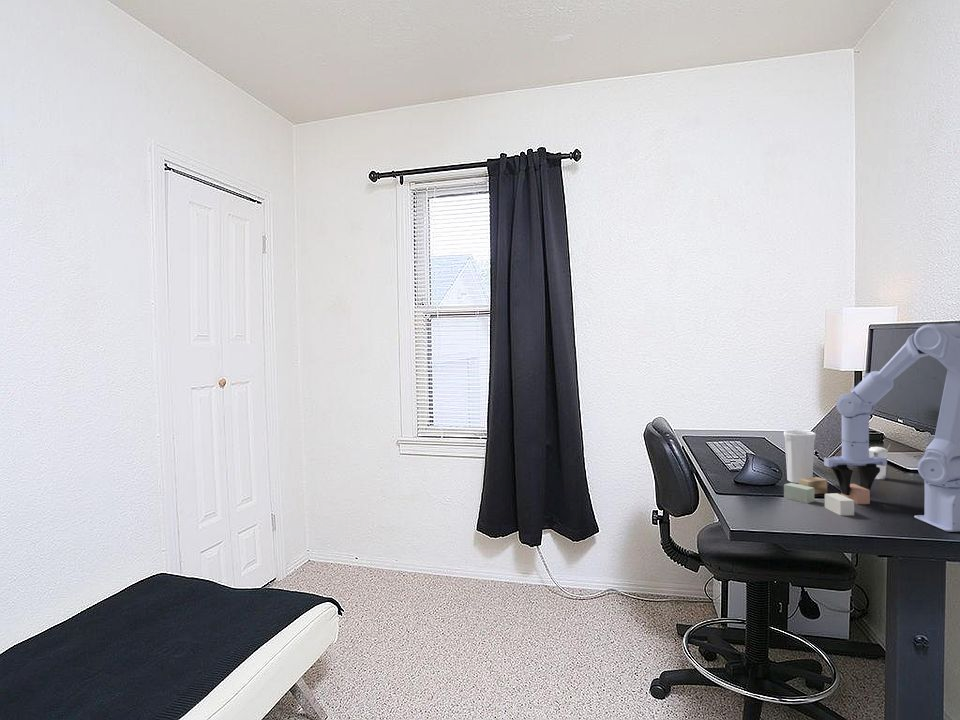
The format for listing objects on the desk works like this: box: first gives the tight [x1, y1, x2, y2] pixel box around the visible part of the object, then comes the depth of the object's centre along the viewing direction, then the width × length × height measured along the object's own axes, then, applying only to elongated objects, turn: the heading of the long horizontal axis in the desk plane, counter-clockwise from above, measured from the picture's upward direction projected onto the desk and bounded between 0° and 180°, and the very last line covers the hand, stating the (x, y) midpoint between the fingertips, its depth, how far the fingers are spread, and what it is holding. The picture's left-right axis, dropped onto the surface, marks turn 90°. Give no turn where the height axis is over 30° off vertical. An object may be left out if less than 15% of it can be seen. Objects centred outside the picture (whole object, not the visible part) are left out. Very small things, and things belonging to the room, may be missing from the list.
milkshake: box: [869, 443, 891, 480], centre depth 161 cm, size 4×5×10 cm
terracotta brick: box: [840, 483, 871, 505], centre depth 141 cm, size 6×3×4 cm, turn 0°
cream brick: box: [824, 492, 855, 516], centre depth 133 cm, size 6×3×4 cm, turn 0°
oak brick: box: [798, 476, 828, 495], centre depth 149 cm, size 6×3×4 cm, turn 103°
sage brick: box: [783, 482, 815, 504], centre depth 143 cm, size 6×3×4 cm, turn 29°
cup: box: [783, 429, 817, 484], centre depth 159 cm, size 8×8×14 cm
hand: (855, 494), depth 141 cm, fingers open, 4 cm apart
